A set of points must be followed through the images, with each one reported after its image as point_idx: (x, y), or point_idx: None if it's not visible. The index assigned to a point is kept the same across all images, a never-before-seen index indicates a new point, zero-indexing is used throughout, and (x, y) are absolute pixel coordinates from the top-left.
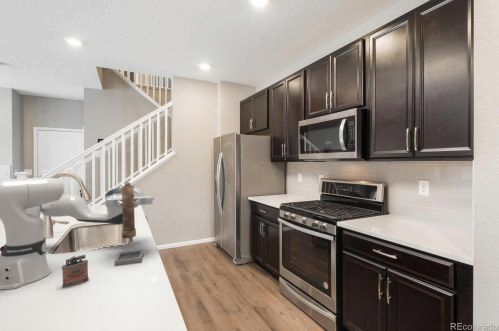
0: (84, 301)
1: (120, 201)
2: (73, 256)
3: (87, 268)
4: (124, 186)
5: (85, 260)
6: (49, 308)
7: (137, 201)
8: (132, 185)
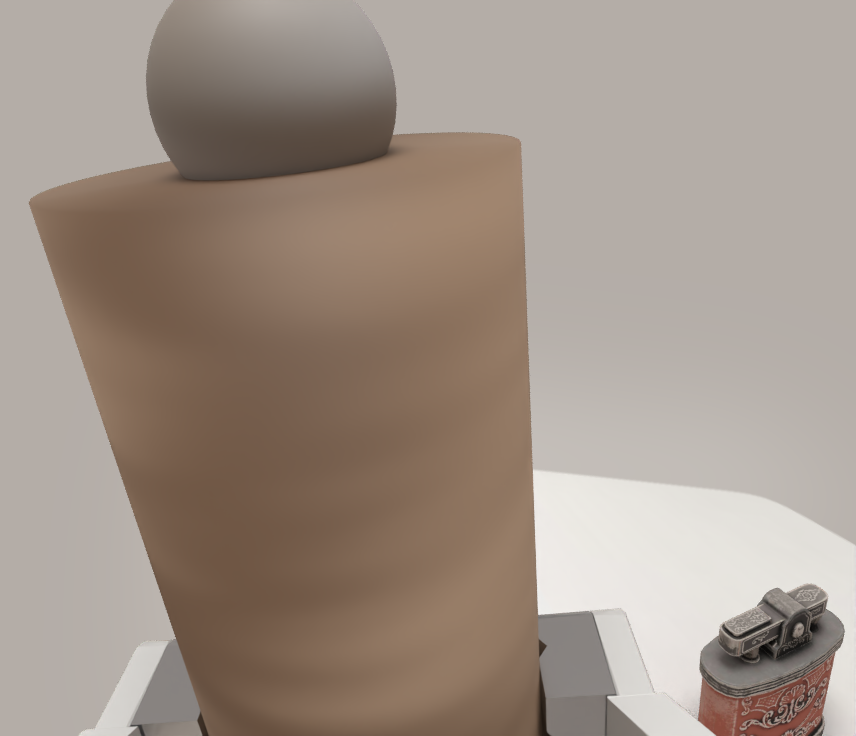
0: (572, 564)
1: (621, 707)
2: (794, 605)
3: (700, 702)
4: (396, 136)
5: (729, 675)
6: (692, 548)
7: (114, 718)
8: (52, 201)
